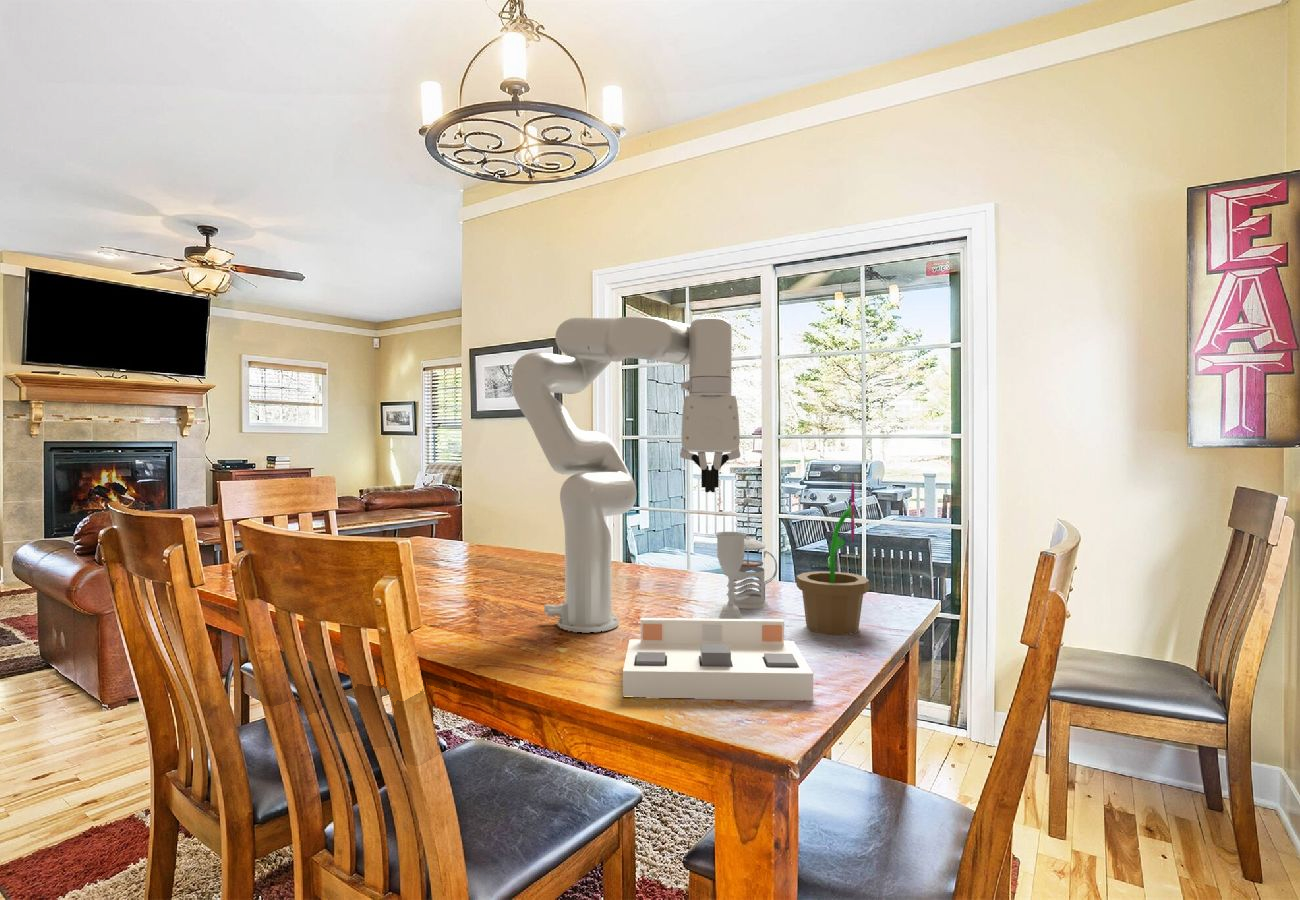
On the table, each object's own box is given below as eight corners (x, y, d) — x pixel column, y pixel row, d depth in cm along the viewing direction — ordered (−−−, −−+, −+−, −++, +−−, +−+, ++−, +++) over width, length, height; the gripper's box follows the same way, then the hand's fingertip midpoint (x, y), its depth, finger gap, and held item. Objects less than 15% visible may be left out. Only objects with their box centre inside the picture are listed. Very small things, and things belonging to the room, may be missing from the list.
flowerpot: (869, 641, 128) (870, 484, 128) (793, 634, 132) (793, 482, 132) (868, 621, 142) (869, 480, 141) (799, 616, 146) (799, 478, 145)
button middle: (701, 672, 102) (701, 652, 102) (700, 662, 106) (700, 643, 106) (730, 672, 101) (730, 652, 101) (728, 663, 106) (728, 644, 106)
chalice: (712, 612, 149) (712, 531, 149) (742, 612, 149) (742, 531, 149) (718, 621, 142) (718, 536, 141) (749, 620, 142) (750, 536, 142)
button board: (622, 698, 99) (622, 644, 99) (629, 662, 115) (629, 616, 115) (813, 700, 98) (813, 646, 98) (793, 664, 114) (793, 617, 114)
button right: (768, 682, 101) (768, 662, 101) (764, 672, 106) (764, 653, 106) (797, 682, 101) (797, 662, 101) (792, 672, 106) (792, 653, 106)
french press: (726, 598, 163) (726, 495, 163) (774, 599, 162) (775, 495, 161) (727, 608, 153) (727, 498, 153) (778, 609, 152) (779, 499, 152)
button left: (635, 680, 102) (635, 661, 102) (637, 670, 106) (637, 652, 106) (664, 681, 102) (664, 661, 102) (665, 671, 106) (665, 652, 106)
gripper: (668, 387, 116) (667, 493, 116) (754, 387, 115) (754, 493, 115) (668, 390, 123) (668, 490, 123) (749, 390, 123) (749, 490, 123)
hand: (709, 491), depth 119 cm, fingers closed
